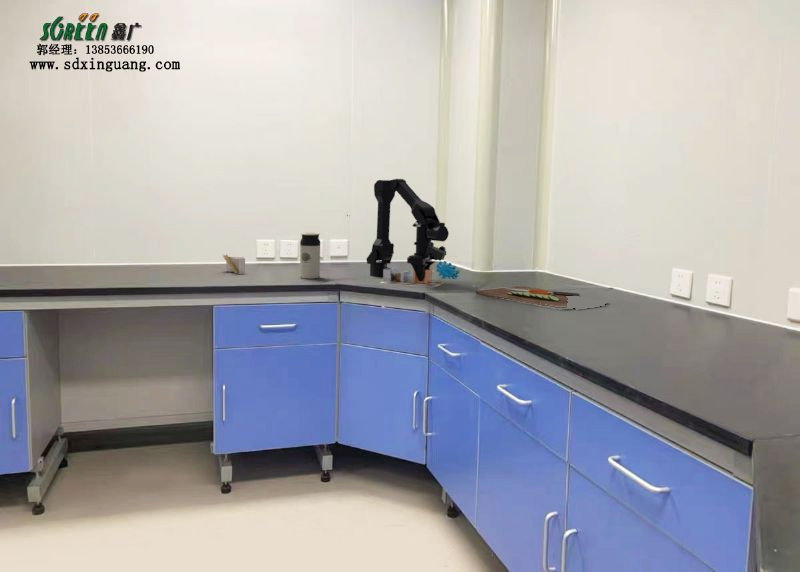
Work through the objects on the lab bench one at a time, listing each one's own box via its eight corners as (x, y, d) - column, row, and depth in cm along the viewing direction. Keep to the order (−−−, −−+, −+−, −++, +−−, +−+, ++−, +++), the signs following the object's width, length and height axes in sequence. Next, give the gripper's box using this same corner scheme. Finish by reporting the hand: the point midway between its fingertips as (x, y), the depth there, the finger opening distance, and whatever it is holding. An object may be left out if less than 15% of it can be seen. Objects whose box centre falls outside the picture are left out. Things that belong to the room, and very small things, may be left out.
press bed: (378, 285, 256) (378, 281, 256) (390, 282, 267) (390, 277, 267) (433, 290, 248) (433, 285, 248) (443, 286, 259) (443, 281, 259)
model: (239, 275, 278) (239, 256, 277) (221, 272, 284) (221, 254, 283) (245, 274, 281) (245, 256, 280) (227, 272, 287) (226, 254, 286)
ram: (400, 282, 255) (400, 268, 254) (407, 280, 262) (407, 266, 261) (426, 285, 251) (426, 270, 251) (432, 282, 258) (432, 268, 257)
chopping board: (467, 293, 247) (467, 285, 247) (517, 288, 263) (517, 280, 263) (566, 313, 212) (566, 304, 212) (616, 306, 228) (617, 297, 228)
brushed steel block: (383, 282, 257) (383, 269, 257) (391, 279, 265) (391, 267, 264) (390, 282, 256) (390, 269, 255) (398, 280, 264) (398, 267, 263)
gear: (439, 277, 271) (434, 258, 277) (433, 286, 275) (428, 267, 281) (463, 280, 275) (458, 261, 281) (457, 289, 280) (452, 270, 285)
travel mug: (309, 275, 279) (309, 232, 276) (323, 277, 274) (324, 233, 272) (295, 277, 273) (296, 232, 270) (310, 279, 268) (310, 234, 265)
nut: (393, 283, 258) (391, 274, 258) (397, 282, 261) (395, 273, 261) (402, 281, 257) (400, 272, 256) (405, 280, 260) (404, 271, 260)
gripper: (436, 242, 242) (434, 285, 244) (451, 239, 259) (450, 279, 261) (407, 240, 246) (405, 283, 248) (424, 237, 263) (423, 277, 265)
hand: (422, 280), depth 255 cm, fingers closed on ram, 4 cm apart
